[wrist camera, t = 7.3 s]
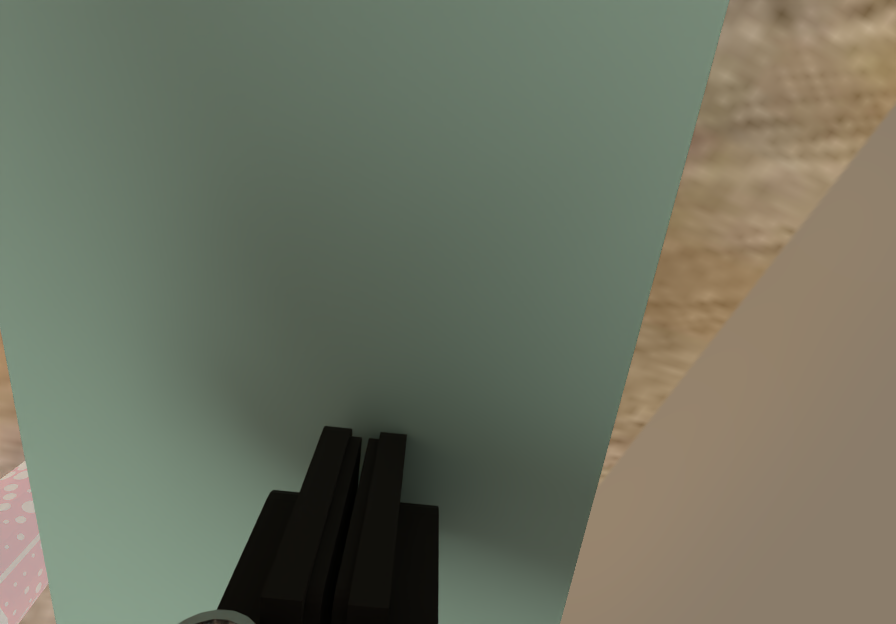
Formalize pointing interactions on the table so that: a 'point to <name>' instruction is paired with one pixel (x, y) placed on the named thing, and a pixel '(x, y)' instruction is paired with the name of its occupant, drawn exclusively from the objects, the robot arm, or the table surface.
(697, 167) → the table surface
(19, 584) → the beverage cup
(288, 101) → the lid
